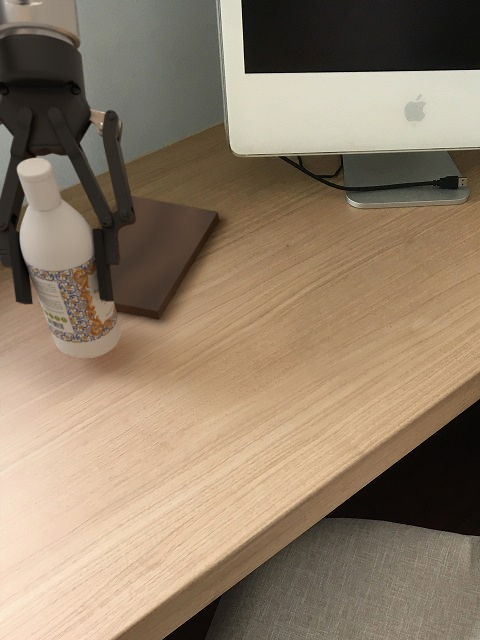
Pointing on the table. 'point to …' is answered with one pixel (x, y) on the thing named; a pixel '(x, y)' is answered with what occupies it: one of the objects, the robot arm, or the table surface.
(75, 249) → the bath foam
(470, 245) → the table surface
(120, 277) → the walnut board
